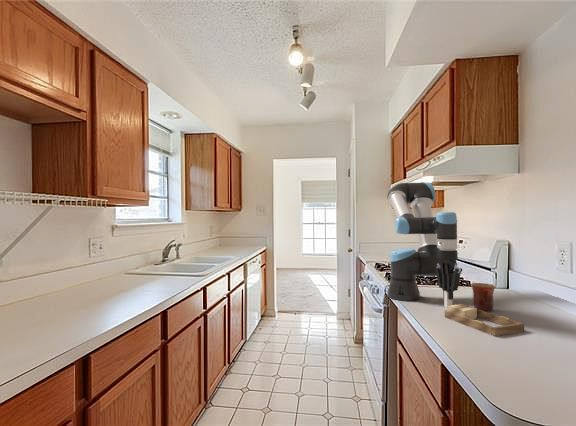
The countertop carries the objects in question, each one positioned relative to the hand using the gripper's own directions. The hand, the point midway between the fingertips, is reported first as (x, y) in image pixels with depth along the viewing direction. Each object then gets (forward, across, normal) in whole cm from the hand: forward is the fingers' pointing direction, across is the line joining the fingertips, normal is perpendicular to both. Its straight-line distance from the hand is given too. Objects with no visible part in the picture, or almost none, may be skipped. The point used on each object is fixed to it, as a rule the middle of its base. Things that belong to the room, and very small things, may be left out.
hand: (448, 306), depth 131 cm
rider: (+2, +7, 0) cm, 7 cm away
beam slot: (+2, +15, 0) cm, 15 cm away
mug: (+2, +4, +15) cm, 16 cm away
